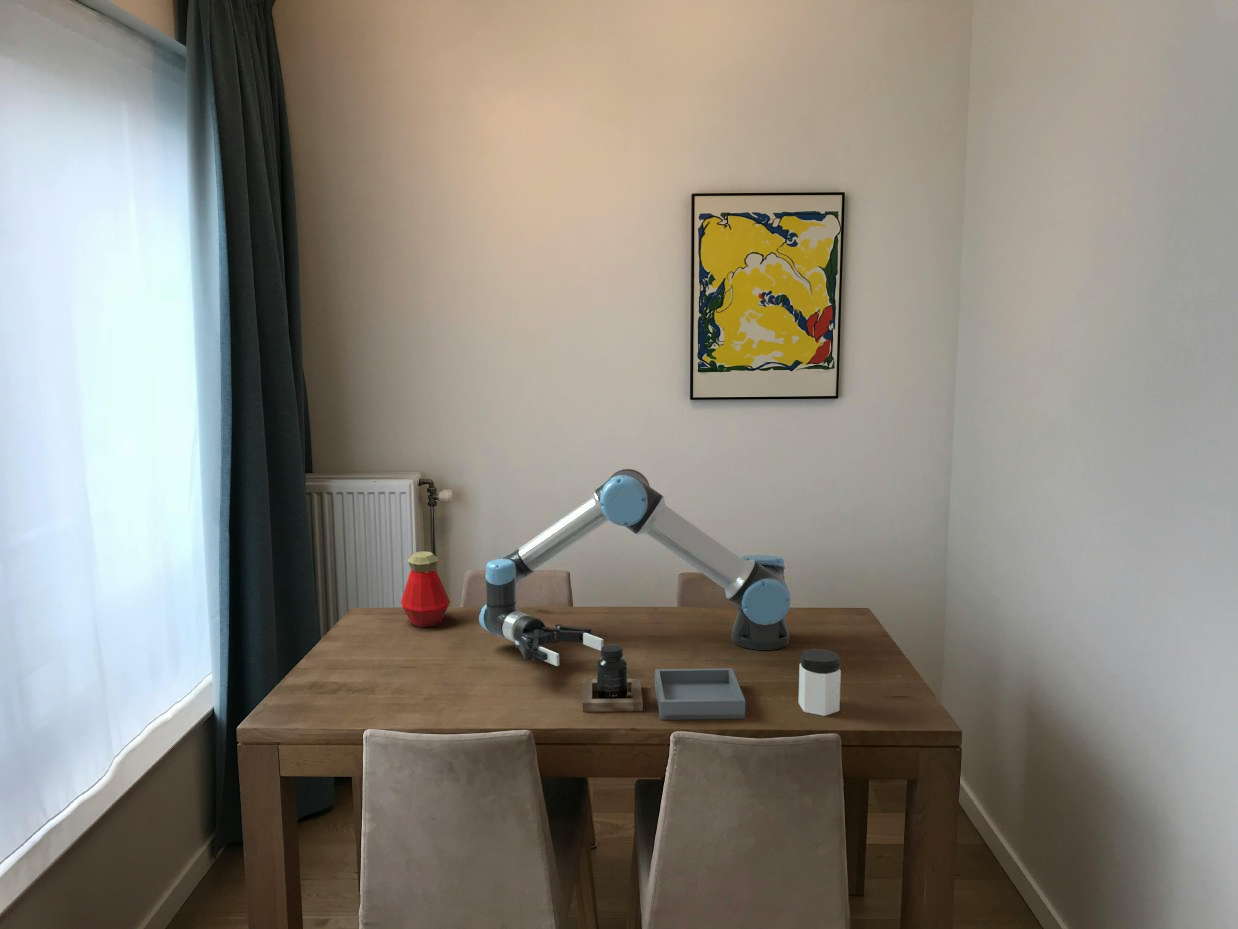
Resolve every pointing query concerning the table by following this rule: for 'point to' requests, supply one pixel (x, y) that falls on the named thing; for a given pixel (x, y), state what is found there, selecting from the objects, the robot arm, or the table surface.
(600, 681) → the supplement bottle
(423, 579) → the bottle
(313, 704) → the table surface
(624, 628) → the table surface
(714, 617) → the table surface
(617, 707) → the socket collar
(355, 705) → the table surface
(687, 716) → the bin
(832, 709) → the jar
